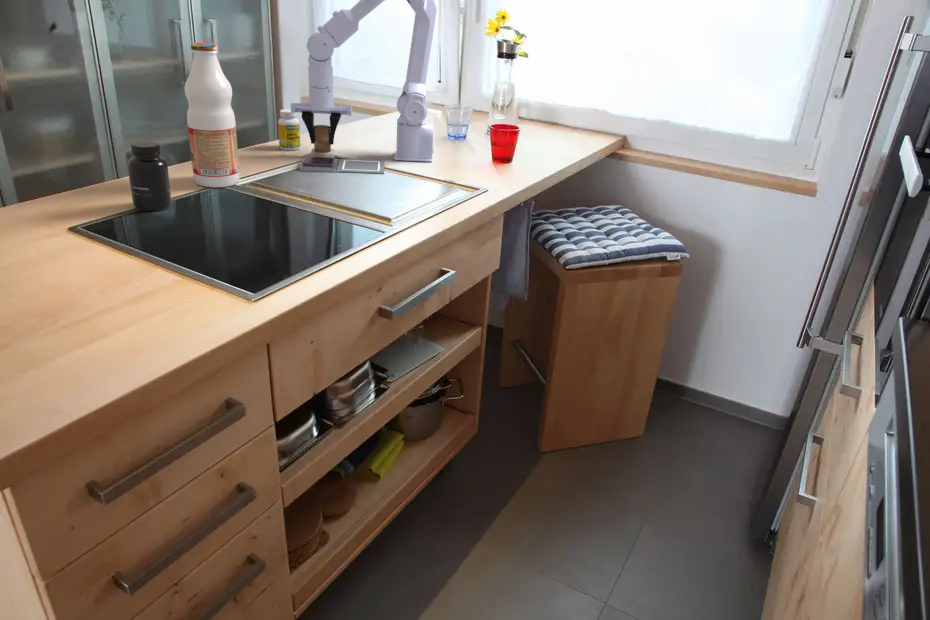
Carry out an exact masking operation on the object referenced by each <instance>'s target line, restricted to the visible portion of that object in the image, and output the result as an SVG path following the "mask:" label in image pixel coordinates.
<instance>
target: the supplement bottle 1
mask: <svg viewBox="0 0 930 620" xmlns="http://www.w3.org/2000/svg"><path fill="white" fill-rule="evenodd" d="M130 148H131V155H132V157H131V158H129V159H128V162H127V171H128V178H129V185H130V192H131V199H132V205H133V207H134V208H135V209H137V211H143V212H159V211H164V210H166V209H169V208H170V207H171V206H172V193H171V186H170V175H169V167H168V162H167V161H166V159H165V158H164V157H162V156H160V155H161V150H160V144H159V143H158V142H156V141H150V140H149V141H148V140H147V141H146V140H145V141H144V140H141V141H140V140H139V141H135V142H132V143H131V144H130Z"/></svg>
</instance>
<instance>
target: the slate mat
mask: <svg viewBox="0 0 930 620" xmlns="http://www.w3.org/2000/svg"><path fill="white" fill-rule="evenodd" d="M337 165H338V166H337V167H336V168H337V169H336V172H337V173H343V174H344V173H349V174H372V175H375V174H376V175H384V174H385V160H371V159H370V160H369V159H353V158H352V159H349V158H348V159H347V158H340V159H339V162H338V164H337Z"/></svg>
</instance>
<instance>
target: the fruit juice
mask: <svg viewBox="0 0 930 620" xmlns="http://www.w3.org/2000/svg"><path fill="white" fill-rule="evenodd" d="M190 47H191V48H190V49H191V53H193V54H192V55H193V59H192V64H191V69H190V73H189V75H188V77H187V79H186V81H185V82H184V83H185V84H184V94H185V97H186V99H187V103H188V109H187V111H186V121H187V129H188V138H189V139H188V140H189V148H190V156H191V165H192V175H193V180H194V183H195V184H196V185H198V186H200V187H204V186H205V187H204V188H227V187H231V186H232V187H233V186H234V185H235V186H236V185H237V184H238V183H240V180H241V179H240V178H241V174H240V172H241V171H240V164H239V163H240V162H239V149H238V138H237V137H238V136H237V124H236V116H235V113H234V110H233V108H232V100H233V99H232V98H233V88H232V85H231V83H230V81H229V80H228V78H227V77H226V75H225V74H224V72H223V70H222V67H221V64H220V63H219V60H218V56H217V54H218V50H219V49H218V45H217V43H213V42H192V43H191V44H190Z"/></svg>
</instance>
